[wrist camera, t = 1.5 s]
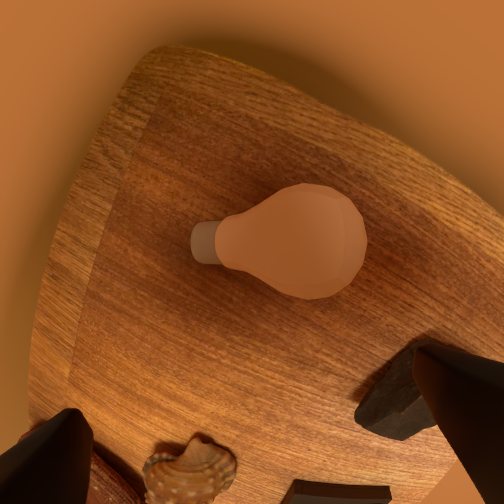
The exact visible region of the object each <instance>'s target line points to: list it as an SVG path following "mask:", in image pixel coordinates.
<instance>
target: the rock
mask: <svg viewBox="0 0 504 504" xmlns="http://www.w3.org/2000/svg"><path fill="white" fill-rule="evenodd" d="M426 343H433V344H437V345H440V346H444V347H447V348H451V349H454V350H458V351H462V352H465V353H468V352H466V351H465V350H463V349H458V348H456V347H454V346H452V345H447V344H445V343H442V342H439V341H437V340H435V339H431V338H426V339H423V340H420V341H417V342H415V343H414V344H412V345H411V346H410V347H409V348H408V349H407V350H406V351H404V352H403V353H401V354H400V355H399V356H398V357H397V358H396V359H395V360H394V361H393V362H392V364H391V366H390V367H389V368H388V371H387V373H386V375H385V376H384V378H383V379H381V380H379V381H378V382H377V383H375V384H374V385H373V386H372V387H371V388H370V389H369V390H368V391H367V393H366V394H365V396H364V397H363V399H362V400H361V402H360V404H359V406H358V407H357V409H356V410H355V415H354V419H355V422H356V423H357V424H359V425H361V426H362V427H363V428H365V429H367V430H369V431H371V432H373V433H375V434H377V435H380V436H383V437H387V438H390V439H394V440H399V441H403V440H406V439H407V438H409V437H411V436H413V435H415V434H416V433H418V432H419V431H421V430H423V429H425V428H429V427H433V426H435V425H436V424H437V423H436V422H435V420H434V418H433V416H432V414H431V412H430V410H429V408H428V406H427V404H426V402H425V400H424V398H423V396H422V394H421V392H420V390H419V388H418V387H417V385H416V383H415V381H414V378H413V374H412V370H413V362H414V353H415V349H416V348H417V347H418V346H421V345H423V344H426Z"/></svg>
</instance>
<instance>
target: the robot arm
mask: <svg viewBox="0 0 504 504" xmlns="http://www.w3.org/2000/svg"><path fill="white" fill-rule="evenodd" d="M412 374H413V378H414V381H415V383H416V385H417V387H418V388H419V390H420V392H421V394H422V396H423V398H424V400H425V402H426V404H427V406H428V408H429V410H430V412H431V414H432V416H433V418H434V420H435V422H436V423H437V425H438V427H439V428H440V430H441V431H442V433H443V434H444V436H445V438H446V439H447V441H448V442H449V444H450V445H451V447H452V449H453V450H454V452H455V453H456V455H457V457H458V458H459V460H460V462H461V463H462V465H463V466H464V468H465V470H466V471H467V473H468V474H469V476H470V478H471V480H472V481H473V483H474V485H475V486H476V488H477V490H478V492H479V493H480V495H481V497H482V498H483V500H484V502H485V504H504V363H502V362H498V361H495V360H491V359H487V358H483V357H480V356H476V355H472V354H469V353H465V352H462V351H458V350H454V349H451V348H447V347H444V346H440V345H437V344H433V343H426V344H423V345H421V346H418V347H417V348H416V349H415V353H414V362H413V370H412ZM92 448H93V431H92V429H91V427H90V425H89V424H88V422H87V421H86V419H85V417H84V416H83V414H82V412H81V411H80V410H79V409H76V408H66V409H64V410H62V411H61V412H60V413H58V414H57V415H56V416H54V417H53V418H51V419H50V420H49V421H47V422H46V423H45V424H43V425H42V426H40V427H39V428H38V429H36V430H35V431H34V432H32V433H31V434H29V435H28V436H27V437H25V438H24V439H23V440H21V441H20V442H18V443H17V444H16V445H14V446H13V447H12V448H10V449H9V450H7V451H6V452H5V453H3V454H2V455H0V504H86V501H87V495H88V489H89V482H90V472H91V459H92Z"/></svg>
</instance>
